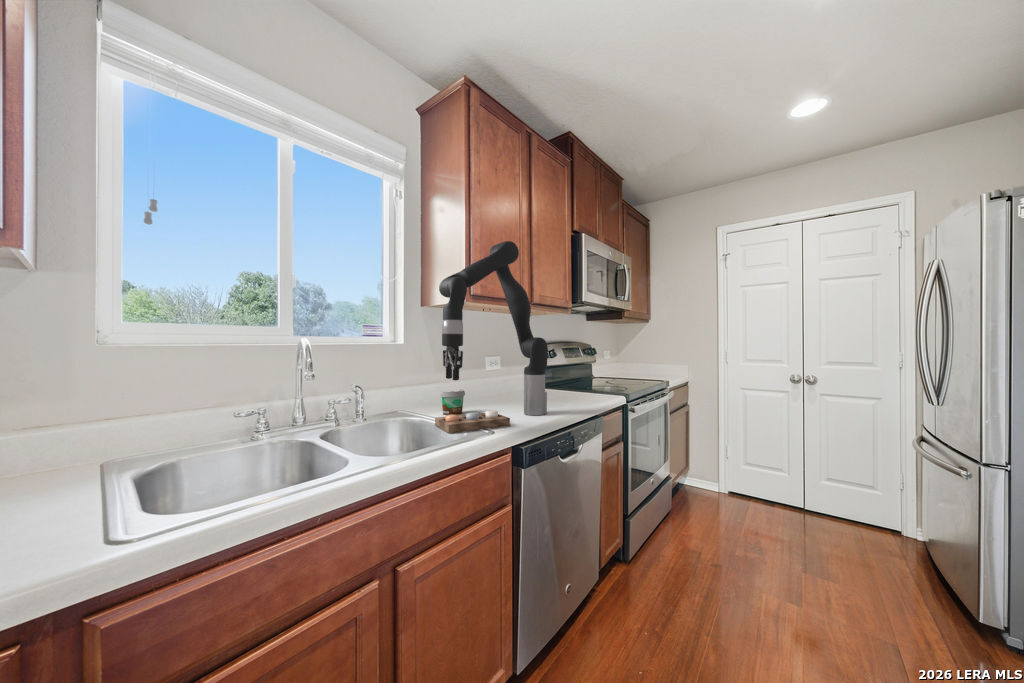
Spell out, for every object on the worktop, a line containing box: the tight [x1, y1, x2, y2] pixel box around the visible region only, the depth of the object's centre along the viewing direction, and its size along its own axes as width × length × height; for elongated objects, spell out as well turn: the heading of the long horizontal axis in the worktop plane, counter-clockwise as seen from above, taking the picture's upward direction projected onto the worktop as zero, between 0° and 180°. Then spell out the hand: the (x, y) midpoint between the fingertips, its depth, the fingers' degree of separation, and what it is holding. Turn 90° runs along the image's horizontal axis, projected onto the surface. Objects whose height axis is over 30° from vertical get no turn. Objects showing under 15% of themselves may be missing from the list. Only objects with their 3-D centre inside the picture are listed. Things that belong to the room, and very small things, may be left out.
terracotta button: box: [444, 414, 460, 422], centre depth 138 cm, size 5×5×3 cm
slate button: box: [465, 412, 480, 420], centre depth 142 cm, size 5×5×3 cm
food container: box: [440, 388, 466, 416], centre depth 165 cm, size 12×6×10 cm, turn 143°
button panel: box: [434, 412, 511, 434], centre depth 142 cm, size 24×14×3 cm, turn 120°
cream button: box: [484, 410, 499, 418], centre depth 146 cm, size 5×5×3 cm
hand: (452, 379), depth 138 cm, fingers open, 6 cm apart
